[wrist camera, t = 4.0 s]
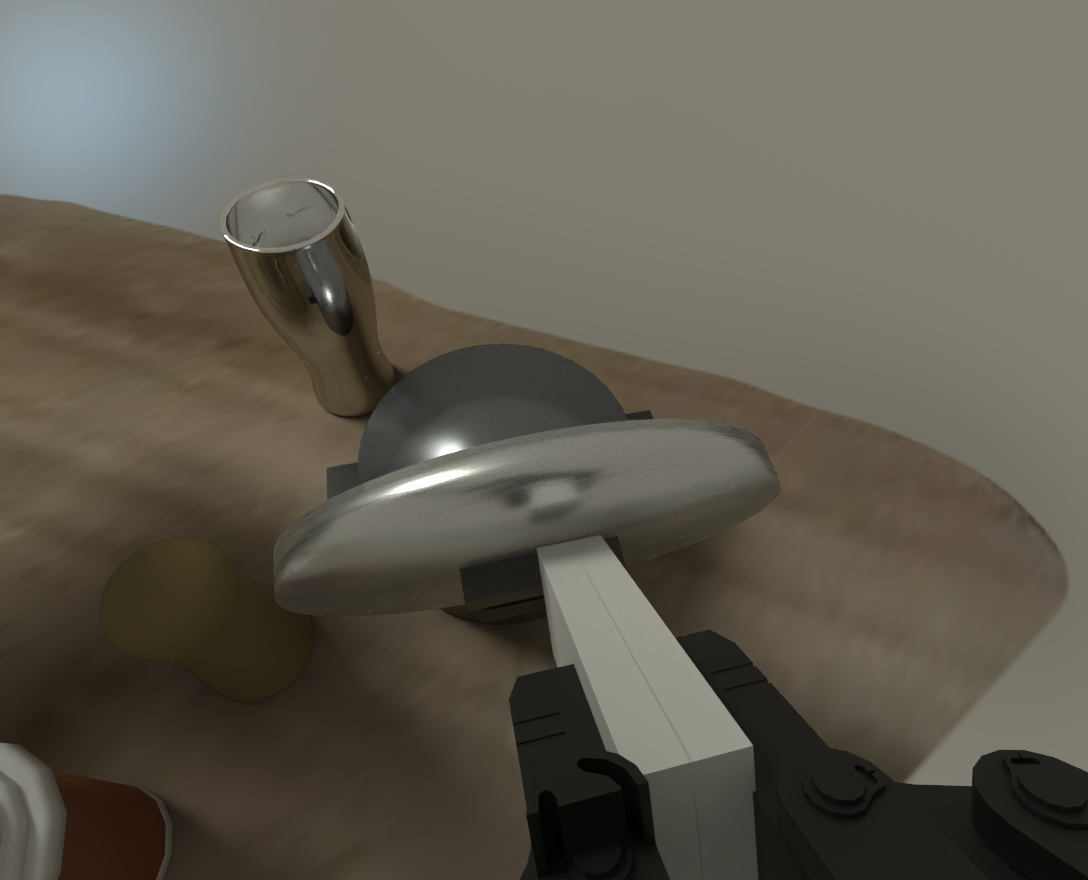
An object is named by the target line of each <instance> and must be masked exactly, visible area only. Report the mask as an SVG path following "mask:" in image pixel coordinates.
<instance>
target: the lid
mask: <svg viewBox="0 0 1088 880" xmlns="http://www.w3.org/2000/svg"><path fill="white" fill-rule="evenodd" d="M779 492H780V482H779V479H778V477H777V474H776V472H775V469H774V467H773V464H772V462H771V459H770V457H769V454H768V451H767V449H766V446H765V444H764V443H763V442H762V440H761V439H760V437H759V436H757V435H755V434H754V433H752V432H750V431H749V430H747V429H744V428H741V427H738V426H734V425H731V424H727V423H720V422H713V421H707V420H691V419H648V420H629V421H618V422H608V423H598V424H589V425H582V426H576V427H569V428H563V429H556V430H550V431H543V432H539V433H534V434H529V435H524V436H519V437H514V438H509V439H505V440H500V441H495V442H491V443H487V444H483V445H480V446H476V447H472V448H468V449H464V450H460V451H456V452H453V453H449V454H445V455H442V456H439V457H436V458H433V459H430V460H426V461H423V462H420V463H417V464H414V465H411V466H407V467H404V468H402V469H399V470H396V471H394V472H391V473H388V474H386V475H383V476H381V477H378V478H375V479H373V480H370V481H368V482H365V483H363V484H361V485H358V486H356V487H354V488H352V489H350V490H348V491H345V492H343V493H341V494H339V495H337V496H335V497H333V498H331V499H329V500H327V501H325V502H324V503H322V504H320V505H319V506H317V507H315V508H313V509H312V510H310V511H308V512H307V513H305V514H304V515H303V516H301V517H300V518H299V519H297V520H296V521H295V522H293V523H292V524H291V525H290V526H288V527H287V528H286V530H285V531H284V532H283V533H282V534H281V535H280V537H279V538H278V539H277V541H276V543H275V546H274V549H273V568H274V595H275V601H276V603H277V604H278V605H279V606H281V607H282V608H284V609H286V610H289V611H291V612H296V613H300V614H305V615H315V616H334V617H347V616H372V615H386V614H398V613H407V612H416V611H424V610H431V609H439V608H445V607H452V606H458V605H465V604H466V605H467V607H468V608H469V610H470V611H473V610H478V609H482V608H487V607H491V606H496V605H500V604H505V603H509V602H514V601H518V600H523V599H527V598H532V597H536V596H541V595H544V592H543V586H542V579H541V573H540V566H539V560H538V553H537V548H540V547H545V546H550V545H555V544H560V543H564V542H569V541H574V540H579V539H584V538H589V537H594V536H599V535H601V537H602V538H603V539H604V541H605V542H606V543H607V545H608V546H609V548H610V549H611V550H612V552H613V553H614V554H615V556H616V557H617V559H618V560H619V561H620V563H621V564H622V565H623V567H624V568H626V567H628V566H631V565H634V564H638V563H641V562H644V561H647V560H650V559H653V558H656V557H659V556H662V555H665V554H668V553H671V552H673V551H676V550H679V549H682V548H684V547H687V546H690V545H692V544H695V543H697V542H700V541H702V540H705V539H707V538H709V537H712V536H714V535H716V534H719V533H721V532H723V531H725V530H727V529H730V528H732V527H734V526H735V525H737V524H739V523H741V522H743V521H745V520H747V519H749V518H750V517H752V516H754V515H755V514H757V513H758V512H760V511H761V510H763V509H764V508H765V507H767V506H768V505H769V504H770V503H771V502H772V501H773V500H774V499H775V498H776V497H777V495H778V494H779Z"/></svg>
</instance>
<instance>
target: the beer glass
mask: <svg viewBox="0 0 1088 880" xmlns="http://www.w3.org/2000/svg"><path fill="white" fill-rule="evenodd" d="M219 228H220V231H221V233H222V235H223V237H224V238H225V240H226V242H227V245H228V247H229V249H230V252H231V254H232V256H233V259H234V261H235V263H236V265H237V267H238V270H239V272H240V274H241V276H242V278H243V280H244V282H245V284H246V286H247V288H248V290H249V292H250V294H251V296H252V297H253V299H254V300H255V302H256V304H257V305H258V307H259V309H260V310H261V312H262V313H263V315H264V316H265V317H266V319H267V320H268V321H269V323H270V324H271V325H272V326H273V328H274V329H275V330H276V331H277V333H278V334H279V335H280V336H281V337H282V338H283V339H284V341H285V342H286V343H287V344H288V345H289V346H290V347H291V349H292V350H293V351H294V352H295V353H296V354H297V355H298V357H299V358H300V359H301V360H302V361H303V363H304V364H305V366H306V367H307V369H308V371H309V373H310V376H311V380H312V384H313V389H314V393H315V396H316V398H317V400H318V402H319V403H320V405H321V406H322V407H323V408H324V409H326V410H327V411H329V412H331V413H333V414H336V415H339V416H346V417H353V416H360V415H364V414H367V413H370V412H372V411H374V410H375V408H376V407H377V405H378V404H379V402H380V401H381V400H382V398H383V397H384V396H385V395H386V394H387V393H388V392H389V390H390V389H391V388H392V387H393V386H394V385H395V384H396V374H395V370H394V368H393V366H392V364H391V363H390V361H389V360H388V358H387V357H386V355H385V354H384V352H383V350H382V348H381V346H380V343H379V339H378V331H377V319H376V307H375V297H374V290H373V284H372V278H371V274H370V271H369V267H368V263H367V260H366V257H365V254H364V251H363V248H362V245H361V242H360V240H359V237H358V235H357V232H356V230H355V227H354V225H353V222H352V220H351V218H350V216H349V213H348V211H347V208H346V206H345V202H344V199H343V197H342V195H341V194H340V192H339V191H338V190H337V189H336V188H334V187H333V186H332V185H330V184H328V183H326V182H324V181H321V180H317V179H314V178H307V177H282V178H276V179H271V180H267V181H264V182H261V183H258V184H255V185H253V186H251V187H249V188H247V189H245V190H243V191H241V192H240V193H238V194H237V195H236V196H234V197H233V198H232V199H231V200H230V201H229V202H228V203H227V204H226V205H225V207H224V208H223V210H222V212H221V215H220V218H219Z"/></svg>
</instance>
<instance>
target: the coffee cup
mask: <svg viewBox="0 0 1088 880" xmlns="http://www.w3.org/2000/svg"><path fill="white" fill-rule="evenodd" d="M172 844H173V822H172V820H171V818H170V815H169V813H168V811H167V808H166V806H165V804H164V801H163V800H162V799H160V798H159V797H158V796H156V795H155V794H153V793H152V792H151V791H149V790H148V789H147V788H145V787H135V786H128V785H123V784H118V783H112V782H107V781H102V780H96V779H91V778H86V777H80V776H75V775H70V774H64V773H59V772H54V771H53V770H52V769H51V768H50V767H49V766H47V765H46V764H45V763H43V762H42V761H41V760H39V759H38V758H37V757H35V756H34V755H33V754H31V753H30V752H29V751H27V750H26V749H25V748H23V747H22V746H21V745H19V744H10V743H0V880H163V879H164V876H165V873H166V870H167V867H168V864H169V861H170V859H171V856H172Z"/></svg>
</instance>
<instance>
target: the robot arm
mask: <svg viewBox="0 0 1088 880" xmlns="http://www.w3.org/2000/svg"><path fill="white" fill-rule="evenodd" d="M537 553H538V560H539V566H540V573H541V579H542V586H543V592H544V599H545V605H546V612H547V618H548V625H549V631H550V638H551V644H552V650H553V655H554V659H555V662H556V665H557V668H554V669H550V670H545V671H541V672H537V673H532V674H528V675H524V676H520V677H518V678H517V680H516V683H515V685H514V688H513V691H512V693H511V696H510V699H509V702H510V708H511V714H512V720H513V726H514V733H515V739H516V745H517V751H518V757H519V763H520V769H521V775H522V781H523V787H524V793H525V799H526V805H527V821H528V826H529V832H530V837H531V850H530V855H529V859H528V863H527V866H526V868H525V870H524V872H523V874H522V876H521V878H520V880H1088V773H1087V772H1086V771H1084V770H1081V769H1079V768H1077V767H1074V766H1072V765H1070V764H1068V763H1066V762H1063V761H1061V760H1059V759H1056V758H1054V757H1050V756H1046V755H1042V754H1038V753H1034V752H1029V751H1026V750H998V751H995V752H992V753H989V754H986V755H983V756H981V758H980V759H979V760H978V762H977V763H976V764H975V766H974V767H973V776H972V786H943V785H913V784H905V783H897V782H894V781H893V780H892V779H891V778H890V777H889V776H887V775H886V774H885V773H883V772H882V771H881V770H880V769H878V768H877V767H876V766H875V765H873V764H872V763H871V762H869V761H867V760H865V759H863V758H860V757H858V756H856V755H854V754H851V753H849V752H847V751H842V750H837V749H831V748H829V747H828V746H827V745H826V744H825V742H824V741H823V740H822V739H821V738H820V737H819V736H818V735H817V734H816V733H815V731H814V730H813V729H812V728H811V727H810V726H809V725H808V724H807V723H806V721H805V720H804V719H803V718H802V717H801V716H800V715H799V714H798V713H797V711H796V710H795V709H794V708H793V707H792V706H791V705H790V704H789V703H788V701H787V700H786V699H785V698H784V697H783V696H782V695H781V694H780V693H779V691H778V690H777V689H776V688H775V687H774V686H773V685H772V684H771V683H768V681H767V678H766V677H765V676H764V675H763V674H762V673H761V671H760V670H759V669H758V668H757V667H756V666H755V667H754V666H753V663H752V661H751V660H750V659H749V658H748V657H747V656H746V655H745V654H744V653H743V651H742V650H741V649H740V648H739V647H738V646H737V645H736V644H735V643H734V642H732V641H730V640H728V639H726V638H724V637H722V636H721V635H719V634H717V633H715V632H713V631H711V630H707V631H703V632H698V633H694V634H690V635H686V636H681V637H677V638H675V637H674V636H673V634H672V633H671V632H670V630H669V629H668V628H667V626H666V625H665V623H664V622H663V621H662V619H661V618H660V617H659V615H658V614H657V612H656V611H655V610H654V608H653V607H652V605H651V604H650V603H649V601H648V600H647V599H646V597H645V596H644V594H643V593H642V592H641V590H640V589H639V588H638V586H637V585H636V583H635V582H634V581H633V579H632V578H631V577H630V575H629V574H628V572H627V571H626V570H625V568H624V567H623V565H622V564H621V563H620V561H619V560H618V559H617V557H616V556H615V554H614V553H613V552H612V550H611V549H610V548H609V546H608V545H607V543H606V542H605V541H604V539H603V538H602V537H601V535H599V536H594V537H589V538H584V539H579V540H574V541H569V542H564V543H560V544H555V545H550V546H545V547H540V548H537Z"/></svg>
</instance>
